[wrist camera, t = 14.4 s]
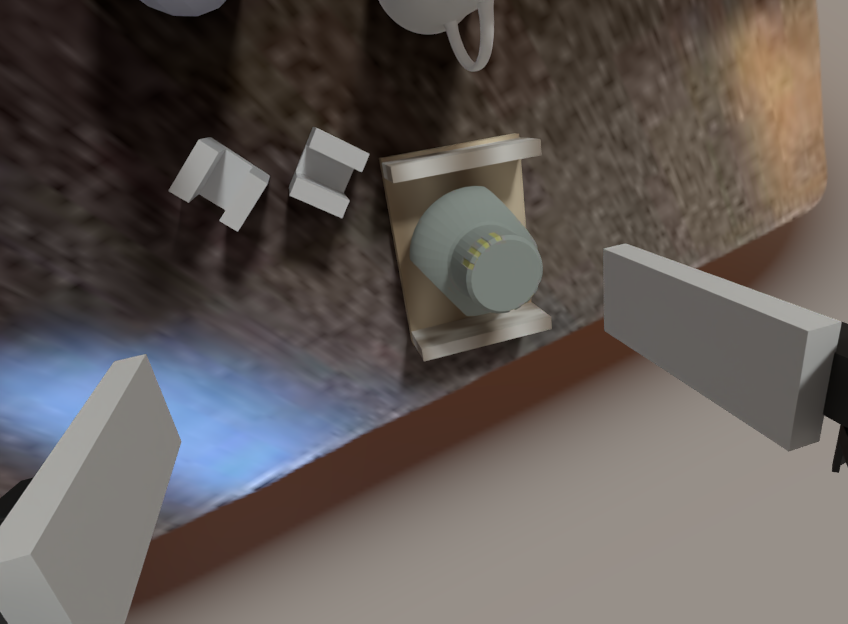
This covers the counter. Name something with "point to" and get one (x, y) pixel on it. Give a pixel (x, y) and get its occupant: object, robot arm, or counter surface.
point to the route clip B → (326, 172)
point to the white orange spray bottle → (184, 6)
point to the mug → (446, 23)
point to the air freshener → (477, 252)
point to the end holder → (407, 201)
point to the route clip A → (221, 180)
